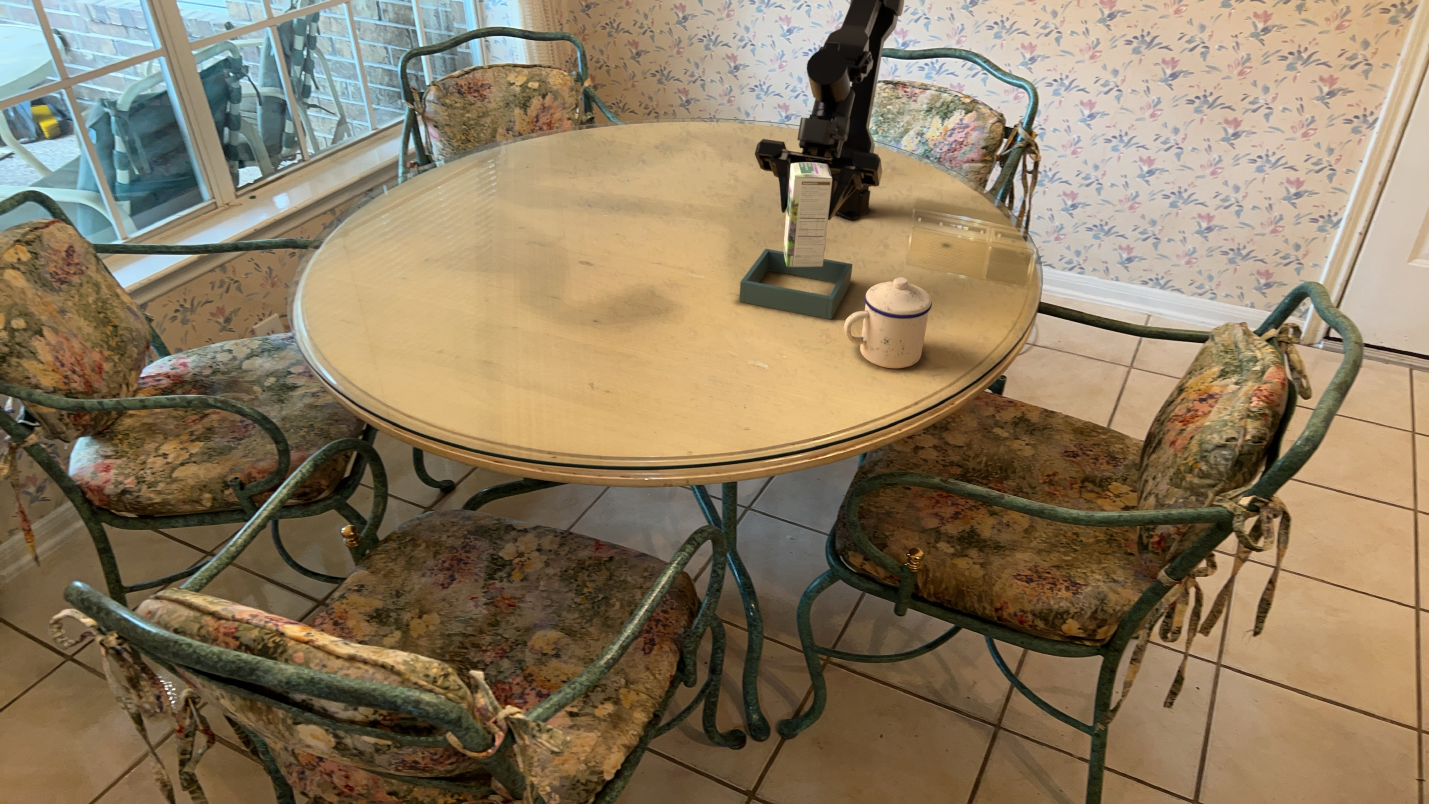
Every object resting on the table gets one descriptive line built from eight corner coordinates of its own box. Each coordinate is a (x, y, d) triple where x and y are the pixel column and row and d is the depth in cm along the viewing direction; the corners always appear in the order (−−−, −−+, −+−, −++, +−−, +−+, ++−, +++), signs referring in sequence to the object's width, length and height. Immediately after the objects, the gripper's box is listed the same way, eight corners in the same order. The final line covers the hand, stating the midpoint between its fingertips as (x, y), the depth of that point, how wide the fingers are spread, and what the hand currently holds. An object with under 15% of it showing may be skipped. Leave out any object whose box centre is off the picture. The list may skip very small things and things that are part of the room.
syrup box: (782, 250, 142) (788, 161, 133) (819, 250, 142) (828, 161, 133) (786, 267, 137) (792, 176, 128) (824, 267, 137) (833, 176, 129)
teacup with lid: (906, 333, 133) (917, 261, 126) (933, 366, 126) (947, 292, 119) (829, 343, 130) (837, 270, 124) (853, 377, 123) (862, 302, 116)
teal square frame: (764, 267, 150) (765, 248, 148) (850, 283, 146) (852, 263, 143) (739, 301, 140) (740, 281, 138) (830, 319, 136) (833, 299, 134)
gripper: (761, 84, 131) (735, 184, 129) (888, 99, 127) (863, 203, 125) (773, 121, 142) (749, 214, 140) (891, 136, 137) (868, 232, 135)
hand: (805, 215), depth 135 cm, fingers closed on syrup box, 7 cm apart
